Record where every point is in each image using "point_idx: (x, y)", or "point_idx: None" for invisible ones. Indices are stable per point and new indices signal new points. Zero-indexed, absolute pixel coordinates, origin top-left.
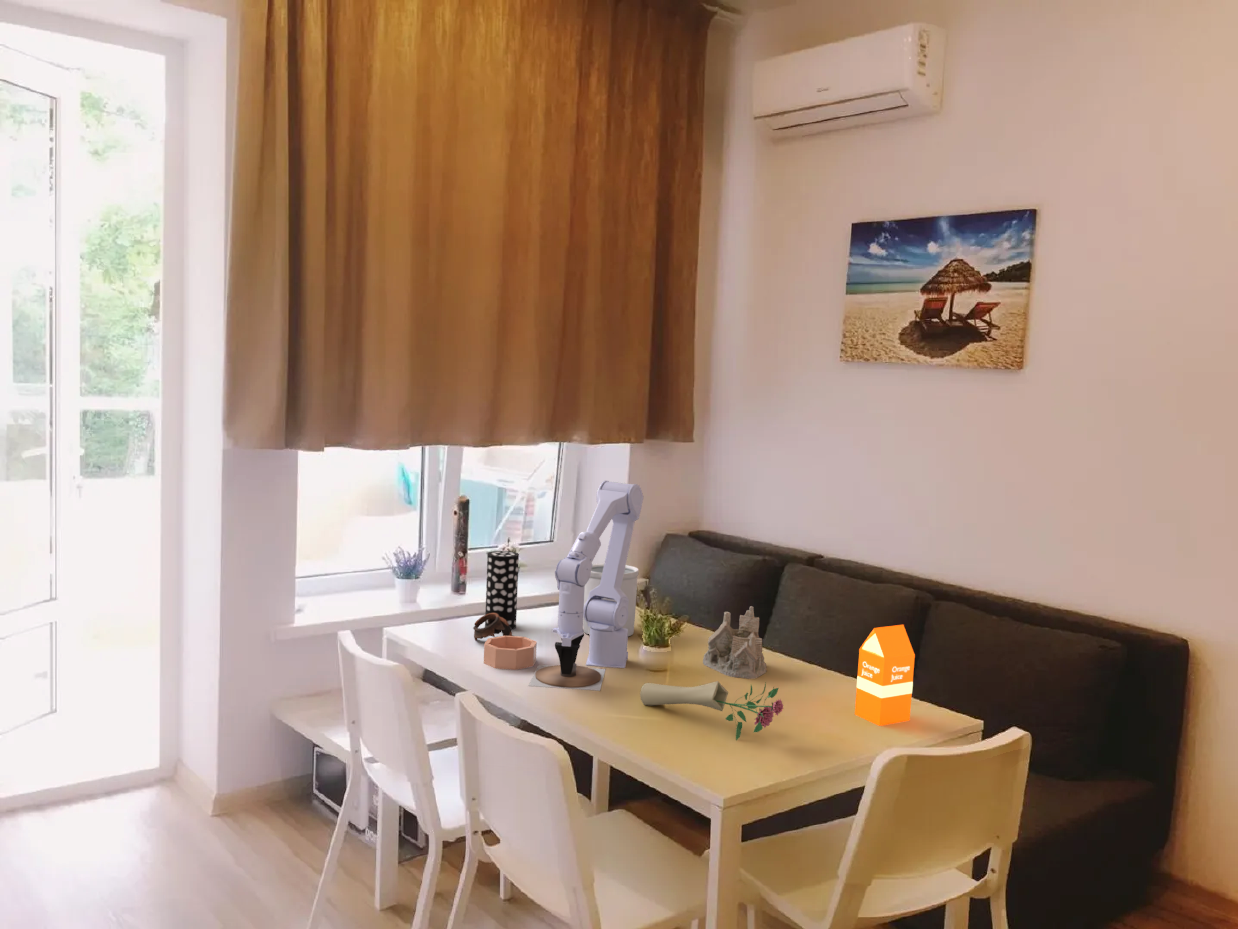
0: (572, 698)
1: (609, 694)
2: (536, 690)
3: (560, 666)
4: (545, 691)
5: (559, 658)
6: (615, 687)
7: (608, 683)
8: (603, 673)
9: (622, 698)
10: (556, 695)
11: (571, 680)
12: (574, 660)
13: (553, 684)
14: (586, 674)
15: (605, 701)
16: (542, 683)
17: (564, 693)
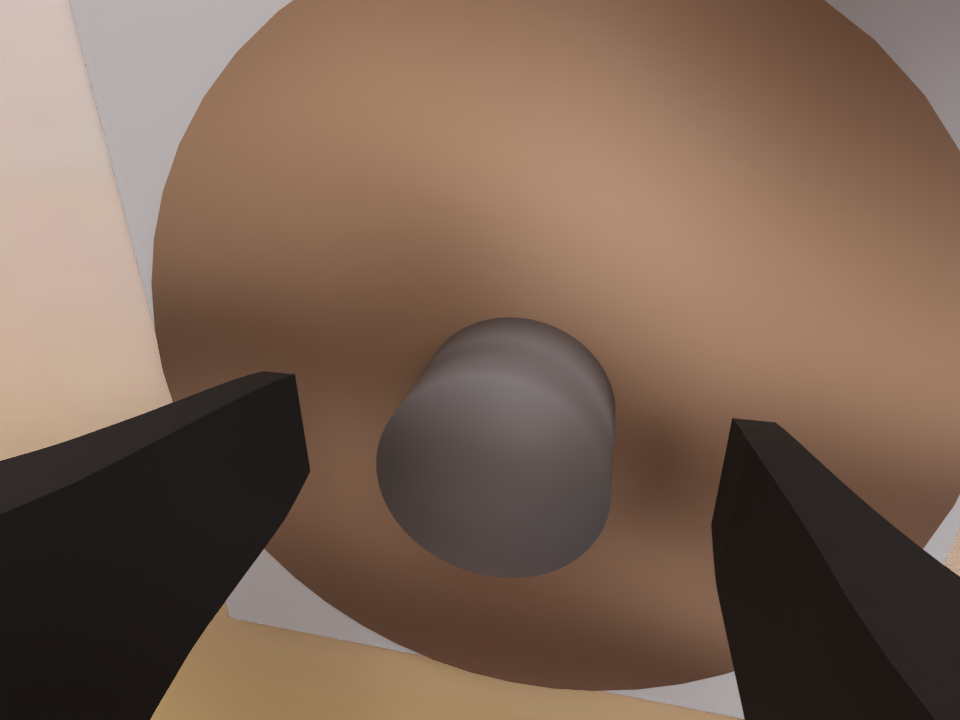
0: (22, 417)
1: (225, 653)
2: (34, 56)
3: (181, 400)
4: (56, 167)
5: (18, 461)
6: (389, 709)
7: (472, 685)
8: (703, 705)
9: (186, 704)
10: (14, 287)
11: (317, 438)
12: (720, 571)
13: (158, 252)
14: (558, 583)
15: None
16: (196, 105)
17: (95, 354)
